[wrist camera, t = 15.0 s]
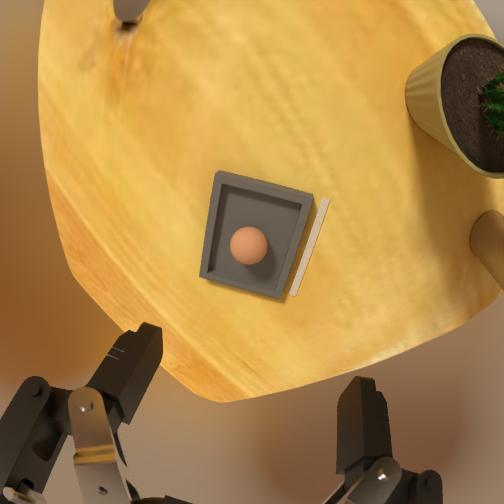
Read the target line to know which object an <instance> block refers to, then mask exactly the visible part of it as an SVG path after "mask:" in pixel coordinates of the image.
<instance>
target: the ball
mask: <svg viewBox="0 0 504 504" xmlns="http://www.w3.org/2000/svg"><path fill="white" fill-rule="evenodd" d="M267 249H268V242H267V239H266V237H265V235H264V234H263V232H262V231H260V230H259V229H257V228H254V227H244V228H241V229H239V230H238V231H236V232H235V233H234V235H233V236H232V238H231V241H230V250H231V253H232V255H233V257H234V258H235V259H236V260H237V261H239V262H240V263H243V264H248V265H250V264H255V263H257V262H259V261H261V260H262V259H263V258H264V256H265V255H266V253H267Z"/></svg>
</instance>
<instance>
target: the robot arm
mask: <svg viewBox="0 0 504 504" xmlns="http://www.w3.org/2000/svg"><path fill="white" fill-rule="evenodd" d="M470 246H471V250H472V252H473V253H474V255H475V256H476V257H477V258H478V259H479V261H480V262H481V263H482V264H483V265H484V267H485V268H486V269H487V270H488V272H489V273H490V274H491V275H492V276H493V278H494V279H495V280H496V282H497V283H498V284H499V285H500V287H501V288H502V289H503V291H504V216H503V215H502V214H501V213H499V212H497V211H489V212H487V213H485V214H483V215H482V216H481V217H480V218H479V219H478V220H477V222H476V223H475V225H474V227H473V229H472V232H471V236H470ZM162 355H163V339H162V328H161V327H158V326H155V325H152V324H149V323H146V322H143V323H142V324H141V326H140V327H139V329H138V330H137V332H133V331H131V330H128V331H127V332H125V333H124V334H122V335H121V336H119V338H118V339H117V340H116V342H115V343H114V345H113V347H112V348H111V350H110V351H109V352H108V355H107V356H106V357H105V358H104V360H103V361H102V363H101V364H100V366H99V367H98V369H97V370H96V372H95V373H94V375H93V377H92V378H91V380H90V381H89V382H88V384H87V385H85V386H84V387H81V388H77V389H76V390H65V389H60V388H55V387H50V386H49V384H48V382H47V381H46V380H45V379H43V378H42V377H38V376H32V377H29V378H27V379H26V380H25V381H24V382H23V383H22V385H21V386H20V388H19V390H18V391H17V393H16V394H15V396H14V397H13V399H12V401H11V402H10V404H9V406H8V407H7V409H6V411H5V413H4V415H3V416H2V418H1V420H0V504H47V502H46V500H45V498H44V497H43V495H42V492H43V490H44V488H45V485H46V483H47V480H48V478H49V475H50V473H51V471H52V468H53V466H54V464H55V461H56V459H57V457H58V455H59V453H60V450H61V448H62V446H63V444H64V442H65V440H66V438H67V436H68V435H72V436H73V440H74V445H75V450H76V453H75V455H74V457H73V460H74V466H75V471H76V474H77V478H78V482H79V485H80V489H81V493H82V496H83V499H84V502H85V504H192V503H189V502H185V501H182V500H179V499H176V498H173V497H170V496H167V495H166V496H165V498H159V497H158V498H157V497H151V498H141V495H140V492H139V490H138V487H137V485H136V482H135V480H134V478H133V475H132V473H131V471H130V469H129V466H128V463H127V460H126V457H125V454H124V450H123V447H122V444H121V440H120V437H119V433H118V428H119V426H120V424H121V422H124V423H126V424H128V425H129V424H130V422H131V420H132V418H133V416H134V414H135V412H136V410H137V408H138V406H139V404H140V402H141V400H142V398H143V396H144V394H145V392H146V390H147V388H148V386H149V384H150V382H151V380H152V378H153V376H154V374H155V372H156V370H157V368H158V366H159V364H160V362H161V359H162ZM387 414H388V409H387V402H386V400H385V398H384V396H383V394H382V392H379V391H376V387H375V381H374V379H373V378H368V377H361V376H355V377H354V379H353V380H352V381H351V383H350V384H349V385H348V386H347V388H346V389H345V390H344V392H343V393H342V394H341V396H340V398H339V401H338V406H337V461H336V474H345V480H344V481H343V482H342V483H341V484H340V485H339V486H338V487H337V488H336V490H334V492H332V493H331V495H330V496H329V497H328V498H327V499H326V500H325V501H324V502H323V503H322V504H443V497H442V496H443V494H442V480H441V477H440V475H439V474H438V473H437V472H436V471H434V470H427V471H424V472H422V473H421V474H418V473H414V472H411V471H407V470H404V469H402V468H401V467H400V464H399V463H398V462H397V461H396V460H394V459H393V456H392V447H391V436H390V426H389V417H388V415H387Z"/></svg>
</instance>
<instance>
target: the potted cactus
mask: <svg viewBox="0 0 504 504" xmlns="http://www.w3.org/2000/svg"><path fill="white" fill-rule="evenodd" d="M405 100H406V105H407V108H408V111H409V113H410V115H411V117H412V118H413V120H414V121H415V123H416V124H417V125H418V126H419V127H420V128H421V129H422V130H423V131H425V132H426V133H427V134H429V135H430V136H432V137H433V138H435V139H436V140H437V141H439V142H440V143H442V144H443V145H444V146H446V147H447V148H448V149H450V150H451V151H452V152H454V153H455V154H456V155H457V156H459V157H460V158H461V159H462V160H464V161H465V163H466V164H468V165H469V166H470V167H471V168H472V169H474V170H475V171H476V172H478V173H480V174H482V175H484V176H486V177H490V178H494V179H499V178H504V45H503V44H501V43H500V42H499V41H497V40H495V39H493V38H491V37H488V36H485V35H481V34H467V35H464V36H461V37H459V38H457V39H456V40H454V41H452V42H451V43H449V44H448V45H447V46H445V47H444V48H442V49H441V50H440V51H438V52H437V53H436V54H434V55H433V56H432V57H430V58H429V59H427V60H426V61H425V62H423V63H422V64H421V65H419V66H418V67H417V68H416V69H414V70H413V72H412V73H411V74H410V75H409V77H408V80H407V82H406V87H405Z"/></svg>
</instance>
